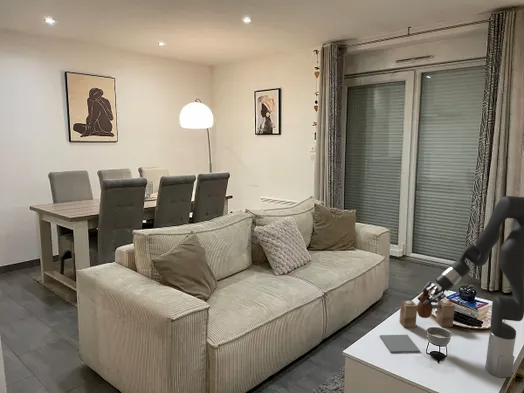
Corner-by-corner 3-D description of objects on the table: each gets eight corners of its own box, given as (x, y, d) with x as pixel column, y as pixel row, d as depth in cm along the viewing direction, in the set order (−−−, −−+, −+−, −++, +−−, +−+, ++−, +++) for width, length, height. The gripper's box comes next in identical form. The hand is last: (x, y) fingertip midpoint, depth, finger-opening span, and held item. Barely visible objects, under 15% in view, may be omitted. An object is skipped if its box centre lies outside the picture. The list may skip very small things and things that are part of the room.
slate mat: (420, 352, 179) (420, 350, 179) (390, 352, 178) (390, 351, 178) (407, 336, 193) (407, 334, 193) (379, 336, 192) (379, 335, 192)
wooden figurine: (421, 320, 183) (423, 289, 181) (414, 314, 188) (416, 285, 186) (434, 318, 185) (436, 288, 182) (426, 313, 190) (428, 284, 188)
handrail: (452, 326, 203) (455, 304, 201) (404, 327, 201) (406, 305, 199) (446, 321, 209) (448, 299, 207) (399, 322, 207) (401, 299, 205)
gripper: (436, 268, 190) (410, 291, 192) (451, 279, 176) (423, 304, 178) (445, 278, 191) (419, 301, 193) (461, 290, 177) (433, 315, 179)
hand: (421, 302), depth 185 cm, fingers closed on wooden figurine, 5 cm apart
